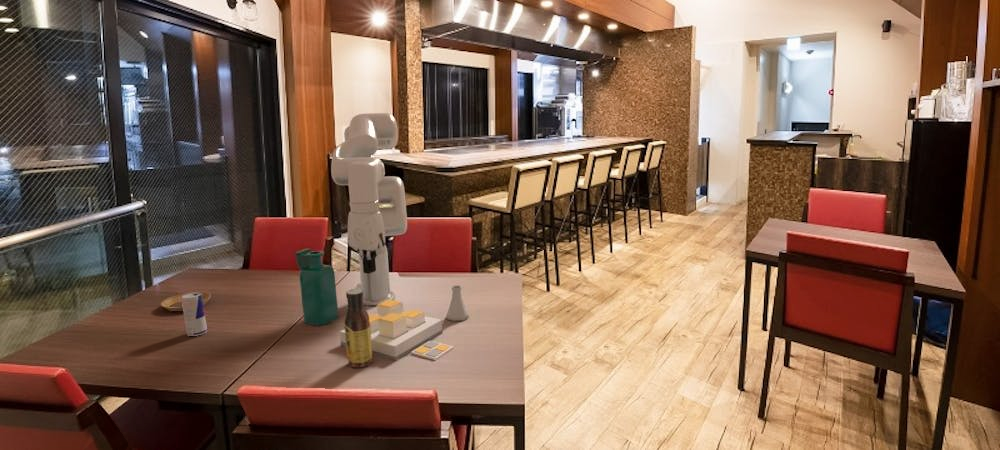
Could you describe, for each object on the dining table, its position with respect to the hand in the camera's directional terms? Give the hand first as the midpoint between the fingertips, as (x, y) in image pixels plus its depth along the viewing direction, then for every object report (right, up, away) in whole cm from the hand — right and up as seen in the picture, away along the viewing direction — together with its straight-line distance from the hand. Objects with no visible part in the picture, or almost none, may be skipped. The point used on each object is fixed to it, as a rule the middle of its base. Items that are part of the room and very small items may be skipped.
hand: (369, 271), depth 152 cm
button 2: (+4, -15, +8) cm, 17 cm away
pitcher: (-20, -17, +19) cm, 32 cm away
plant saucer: (-70, -15, +34) cm, 79 cm away
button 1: (0, -18, +2) cm, 18 cm away
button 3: (+7, -17, -2) cm, 18 cm away
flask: (+23, -16, +19) cm, 34 cm away
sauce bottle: (0, -23, -11) cm, 25 cm away
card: (+18, -21, -4) cm, 28 cm away
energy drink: (-54, -19, +10) cm, 58 cm away
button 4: (+11, -17, +5) cm, 21 cm away
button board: (+6, -19, +4) cm, 20 cm away
